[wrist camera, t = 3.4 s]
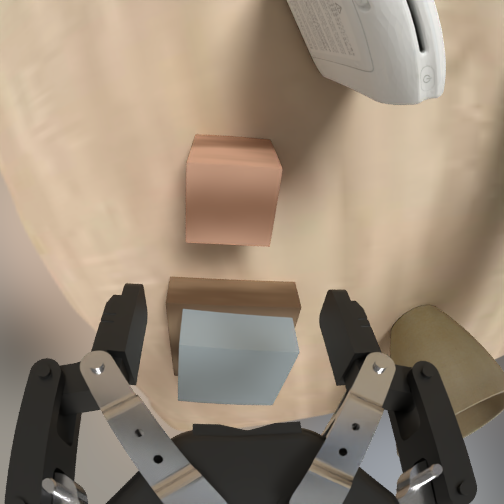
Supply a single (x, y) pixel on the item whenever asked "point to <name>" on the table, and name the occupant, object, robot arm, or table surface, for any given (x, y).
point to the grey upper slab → (234, 357)
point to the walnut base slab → (227, 301)
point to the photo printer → (376, 46)
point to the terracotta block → (231, 190)
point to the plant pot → (451, 364)
